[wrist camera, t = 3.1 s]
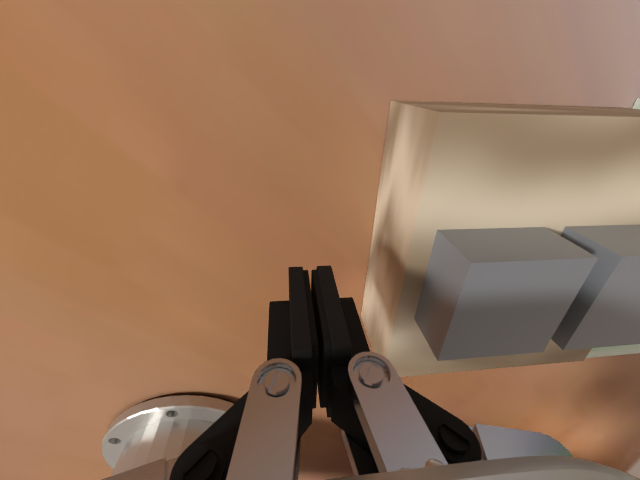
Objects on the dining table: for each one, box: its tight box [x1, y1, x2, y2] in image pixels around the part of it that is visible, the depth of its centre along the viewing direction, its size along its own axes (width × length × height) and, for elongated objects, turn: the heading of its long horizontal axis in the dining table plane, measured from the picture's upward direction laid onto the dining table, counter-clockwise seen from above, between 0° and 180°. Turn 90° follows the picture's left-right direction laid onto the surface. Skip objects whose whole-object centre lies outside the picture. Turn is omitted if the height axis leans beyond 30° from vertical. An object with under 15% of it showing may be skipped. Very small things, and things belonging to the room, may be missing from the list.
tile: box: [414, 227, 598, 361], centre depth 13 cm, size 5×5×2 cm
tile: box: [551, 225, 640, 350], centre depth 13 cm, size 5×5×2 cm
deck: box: [361, 101, 640, 377], centre depth 16 cm, size 14×13×5 cm
